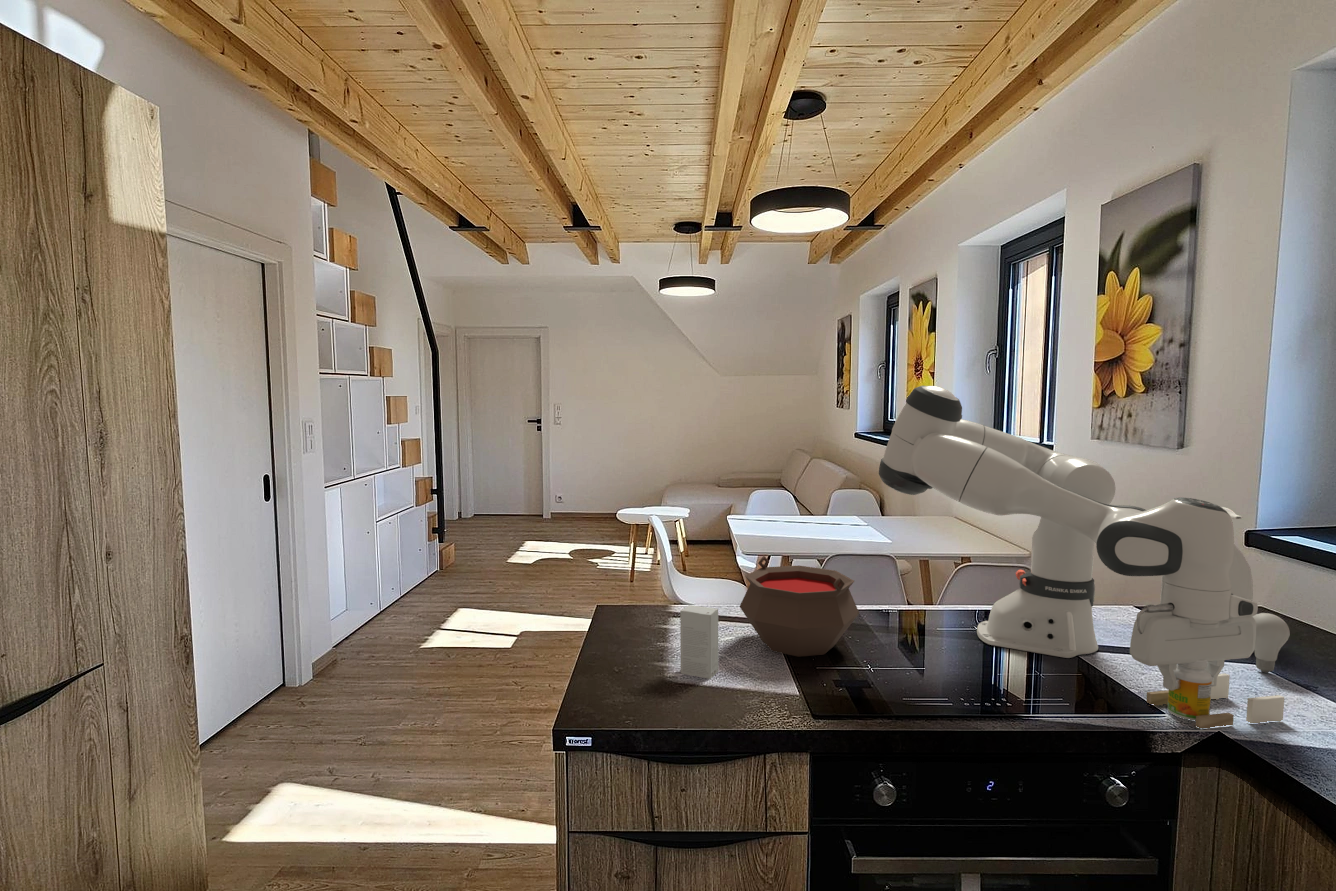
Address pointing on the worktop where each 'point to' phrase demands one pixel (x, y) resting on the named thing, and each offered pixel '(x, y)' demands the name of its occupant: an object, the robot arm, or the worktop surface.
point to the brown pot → (799, 608)
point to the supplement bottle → (1191, 691)
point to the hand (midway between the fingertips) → (1189, 687)
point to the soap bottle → (1240, 570)
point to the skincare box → (699, 641)
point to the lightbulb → (1269, 639)
